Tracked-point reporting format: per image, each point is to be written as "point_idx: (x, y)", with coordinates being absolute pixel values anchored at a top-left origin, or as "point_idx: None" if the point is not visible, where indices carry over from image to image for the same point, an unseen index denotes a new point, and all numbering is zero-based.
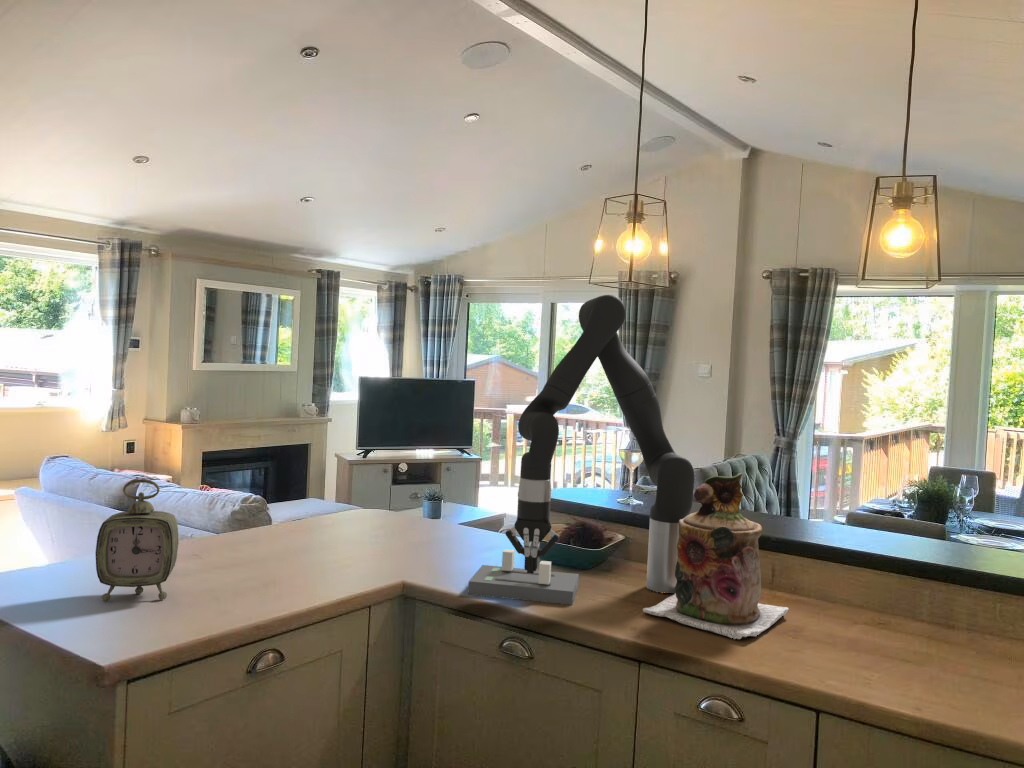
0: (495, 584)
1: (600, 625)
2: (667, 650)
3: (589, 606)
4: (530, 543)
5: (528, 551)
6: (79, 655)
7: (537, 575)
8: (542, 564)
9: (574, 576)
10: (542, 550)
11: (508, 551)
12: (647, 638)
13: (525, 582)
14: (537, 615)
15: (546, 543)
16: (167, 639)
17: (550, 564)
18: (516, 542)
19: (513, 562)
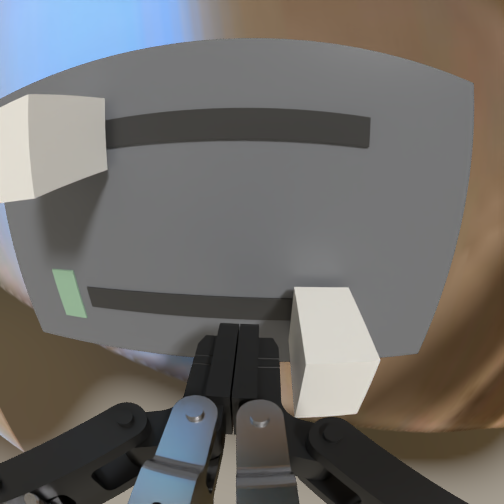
0: (118, 345)
1: (421, 408)
2: (465, 430)
3: (445, 315)
4: (203, 498)
5: (211, 469)
6: (6, 439)
7: (265, 154)
8: (313, 415)
9: (461, 129)
10: (317, 484)
11: (9, 177)
12: (465, 414)
13: (222, 315)
14: (292, 411)
15: (365, 492)
16: (5, 430)
17: (365, 385)
18: (110, 496)
19: (84, 112)
